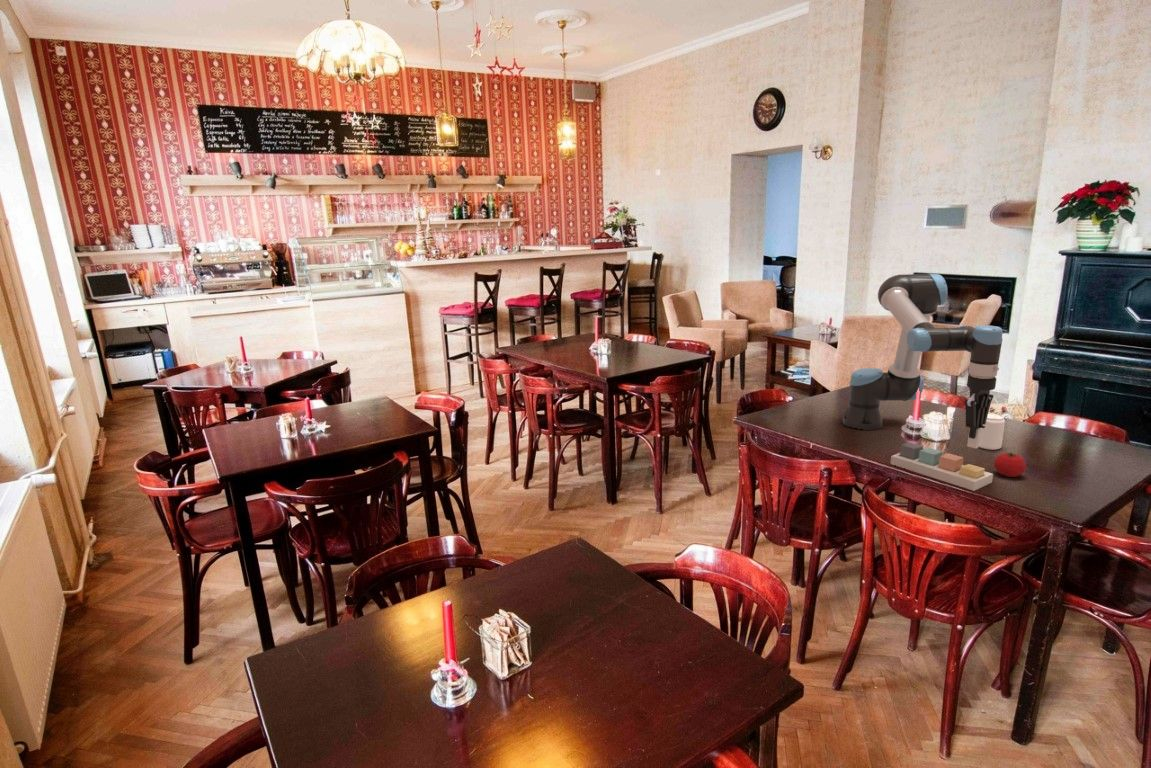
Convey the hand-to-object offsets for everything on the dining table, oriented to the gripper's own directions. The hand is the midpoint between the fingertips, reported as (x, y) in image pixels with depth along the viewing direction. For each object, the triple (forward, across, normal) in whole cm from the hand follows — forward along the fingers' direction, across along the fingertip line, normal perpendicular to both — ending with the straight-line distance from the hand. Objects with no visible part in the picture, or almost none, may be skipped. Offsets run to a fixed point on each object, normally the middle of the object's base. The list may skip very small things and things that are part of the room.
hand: (972, 446), depth 202 cm
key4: (+11, 0, -1) cm, 11 cm away
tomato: (+12, +16, -5) cm, 21 cm away
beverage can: (+12, +38, +12) cm, 42 cm away
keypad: (+12, 0, +9) cm, 15 cm away
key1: (+10, 0, +20) cm, 22 cm away
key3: (+10, 0, +6) cm, 11 cm away
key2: (+10, 0, +13) cm, 16 cm away
